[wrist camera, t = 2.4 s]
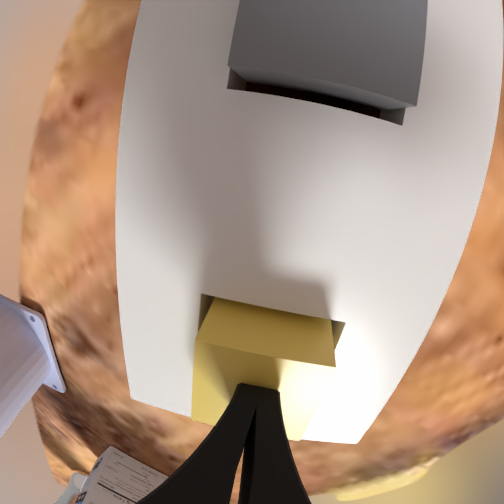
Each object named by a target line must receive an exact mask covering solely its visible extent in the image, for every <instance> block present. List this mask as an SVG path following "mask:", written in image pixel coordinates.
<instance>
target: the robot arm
mask: <svg viewBox="0 0 504 504" xmlns="http://www.w3.org/2000/svg"><path fill="white" fill-rule="evenodd" d="M42 383H43V384H45V385H47V386H49V387H51V388H53V389H55V390H57V391H59V392H61V393H64V392H65V391H66V387H65V384H64V381H63V378H62V376H61V373H60V370H59V367H58V364H57V360H56V357H55V354H54V351H53V347H52V344H51V341H50V337H49V333H48V330H47V326H46V322H45V319H44V317H43V315H42V314H41V313H39V312H37V311H35V310H32V309H30V308H28V307H26V306H24V305H21V304H19V303H17V302H15V301H13V300H11V299H9V298H7V297H4V296H3V295H1V294H0V438H1V436H2V435H3V434H4V432H5V431H6V430H7V428H8V427H9V426H10V424H11V423H12V422H13V420H14V419H15V418H16V416H17V415H18V414H19V412H20V411H21V410H22V409H23V407H24V406H25V405H26V403H27V402H28V401H29V400H30V398H31V397H32V396H33V395H34V393H35V392H36V391H37V390H38V388H39V387H40V386H41V385H42ZM243 449H244V455H243V464H242V473H241V482H240V491H239V500H238V504H311V502H310V500H309V498H308V495H307V493H306V491H305V488H304V486H303V484H302V481H301V479H300V476H299V474H298V471H297V468H296V465H295V462H294V459H293V456H292V453H291V449H290V446H289V442H288V438H287V434H286V430H285V426H284V420H283V415H282V409H281V400H280V392H279V391H278V390H275V389H270V388H264V387H259V386H254V385H249V384H244V383H239V384H237V387H236V390H235V392H234V394H233V396H232V398H231V400H230V402H229V404H228V406H227V408H226V409H225V411H224V413H223V414H222V416H221V417H220V419H219V420H218V422H217V423H216V425H215V426H214V427H213V429H212V430H211V432H210V433H209V434H208V436H207V437H206V438H205V439H204V440H203V442H202V443H201V444H200V445H199V447H198V448H197V449H196V450H195V451H194V452H193V454H192V455H191V456H190V457H189V458H188V459H187V460H186V461H185V462H184V463H183V464H182V465H181V466H180V467H179V468H178V469H177V470H176V471H175V472H174V473H173V474H172V475H171V476H170V477H168V478H167V479H166V480H165V481H164V482H163V483H162V484H160V485H159V486H158V487H157V488H156V489H154V490H153V491H152V492H151V493H149V494H148V495H146V496H145V497H144V498H142V499H141V500H139V501H138V502H137V503H135V504H229V502H230V498H231V493H232V488H233V484H234V479H235V474H236V470H237V467H238V464H239V461H240V458H241V455H242V452H243Z"/></svg>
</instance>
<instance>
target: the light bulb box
mask: <svg viewBox="0 0 504 504" xmlns="http://www.w3.org/2000/svg"><path fill="white" fill-rule="evenodd" d="M168 477H169V476H167V475H165V474H163V473H160V472H158V471H157V470H155V469H153V468H151V467H149V466H147V465H145V464H143V463H141V462H139V461H137V460H136V459H134V458H132V457H130V456H128V455H127V454H125V453H123V452H121V451H120V450H118V449H116V448H115V447H113V446H109V447H108V448H107V449H106V450H105V451H104V452H103V453H102V454H101V455H100V456H99V458H98V459H97V460H96V462H95V464H94V466H93V468H92V470H91V472H90V474H89V476H88V478H87V480H86V481H85V483H84V485H83V487H82V489H81V491H80V494H79V496H78V497H77V500H76V502H75V504H135V503H137V502H138V501H139V500H141V499H142V498H144V497H145V496H146V495H148V494H149V493H151V492H152V491H153V490H154V489H156V488H157V487H158V486H159V485H160V484H162V483H163V482H164V481H165V480H166V479H167V478H168Z"/></svg>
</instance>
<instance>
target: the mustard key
mask: <svg viewBox="0 0 504 504" xmlns="http://www.w3.org/2000/svg"><path fill="white" fill-rule="evenodd" d="M335 369H336V360H335V351H334V341H333V333H332V324H331V320H330V319H324V318H318V317H313V316H308V315H302V314H297V313H292V312H287V311H281V310H276V309H271V308H266V307H262V306H257V305H252V304H247V303H242V302H238V301H233V300H229V299H224V298H219V297H215V298H214V300H213V302H212V304H211V306H210V308H209V311H208V313H207V315H206V317H205V319H204V321H203V323H202V325H201V328H200V330H199V332H198V334H197V336H196V338H195V346H194V363H193V382H192V405H191V420H195V421H199V422H202V423H206V424H210V425H216V423H217V422H218V420H219V419H220V417H221V416H222V414H223V413H224V411H225V409H226V408H227V406H228V404H229V402H230V400H231V398H232V396H233V394H234V392H235V390H236V387H237V384H239V383H244V384H249V385H254V386H259V387H264V388H270V389H275V390H278V391H279V392H280V400H281V409H282V415H283V420H284V426H285V430H286V434H287V438H288V440H295V441H300V440H301V438H302V436H303V434H304V432H305V430H306V428H307V427H308V425H309V423H310V421H311V419H312V417H313V415H314V413H315V411H316V409H317V407H318V405H319V403H320V401H321V399H322V397H323V395H324V393H325V391H326V389H327V386H328V384H329V382H330V380H331V378H332V376H333V373H334V371H335Z"/></svg>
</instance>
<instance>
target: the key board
mask: <svg viewBox="0 0 504 504" xmlns="http://www.w3.org/2000/svg"><path fill="white" fill-rule="evenodd" d="M239 1H240V0H141V4H140V8H139V12H138V17H137V21H136V26H135V30H134V35H133V40H132V45H131V51H130V56H129V62H128V68H127V74H126V81H125V88H124V95H123V103H122V112H121V121H120V131H119V143H118V157H117V175H116V215H115V226H116V266H117V285H118V299H119V311H120V322H121V331H122V340H123V348H124V356H125V363H126V370H127V376H128V383H129V388H130V394H131V398H132V399H134V400H137V401H140V402H143V403H146V404H149V405H152V406H155V407H158V408H161V409H165V410H168V411H171V412H175V413H178V414H181V415H185V416H189V417H191V405H192V382H193V363H194V346H195V338H196V336H197V334H198V332H199V330H200V328H201V325H202V323H203V321H204V319H205V317H206V315H207V313H208V311H209V308H210V306H211V304H212V302H213V300H214V298H215V297H219V298H224V299H229V300H233V301H238V302H242V303H247V304H252V305H257V306H262V307H266V308H271V309H276V310H281V311H287V312H292V313H297V314H302V315H308V316H313V317H318V318H324V319H330V320H331V324H332V333H333V341H334V351H335V360H336V369H335V371H334V373H333V376H332V378H331V380H330V382H329V384H328V386H327V389H326V391H325V393H324V395H323V397H322V399H321V401H320V403H319V405H318V407H317V409H316V411H315V413H314V415H313V417H312V419H311V421H310V423H309V425H308V427H307V428H306V430H305V432H304V434H303V436H302V438H301V439H305V440H314V441H324V442H335V443H349V444H357V443H358V442H359V440H360V439H361V438H362V436H363V435H364V434H365V432H366V431H367V430H368V428H369V427H370V425H371V424H372V423H373V421H374V420H375V418H376V417H377V415H378V414H379V413H380V411H381V410H382V408H383V407H384V405H385V404H386V402H387V401H388V399H389V398H390V396H391V394H392V393H393V391H394V390H395V388H396V387H397V385H398V383H399V382H400V380H401V378H402V377H403V375H404V373H405V372H406V370H407V368H408V367H409V365H410V363H411V361H412V360H413V358H414V356H415V354H416V353H417V351H418V349H419V347H420V345H421V343H422V341H423V340H424V338H425V336H426V334H427V332H428V330H429V328H430V326H431V324H432V322H433V320H434V318H435V316H436V314H437V312H438V309H439V307H440V305H441V303H442V301H443V299H444V296H445V294H446V292H447V290H448V287H449V285H450V283H451V280H452V278H453V275H454V273H455V270H456V268H457V265H458V263H459V260H460V258H461V255H462V252H463V250H464V247H465V244H466V241H467V238H468V236H469V233H470V230H471V227H472V224H473V220H474V217H475V214H476V211H477V207H478V204H479V200H480V197H481V193H482V190H483V186H484V182H485V178H486V174H487V170H488V165H489V161H490V156H491V151H492V146H493V141H494V135H495V130H496V123H497V117H498V110H499V102H500V93H501V82H502V67H503V8H502V0H428V7H427V25H426V37H425V48H424V57H423V66H422V74H421V81H420V88H419V95H418V101H417V106H416V107H407V108H399V109H391V110H381V112H380V117H379V119H378V118H375V117H371V116H368V115H364V114H360V113H356V112H353V111H349V110H345V109H340V108H336V107H332V106H327V105H323V104H318V103H314V102H309V101H304V100H298V99H293V98H287V97H282V96H276V95H269V94H263V93H256V92H248V91H245V87H246V80H245V79H243V78H242V77H241V76H240V75H239V74H237V73H236V72H235V71H234V70H232V69H231V68H230V67H229V66H227V64H228V59H229V53H230V48H231V42H232V37H233V31H234V26H235V21H236V16H237V11H238V6H239Z"/></svg>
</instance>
